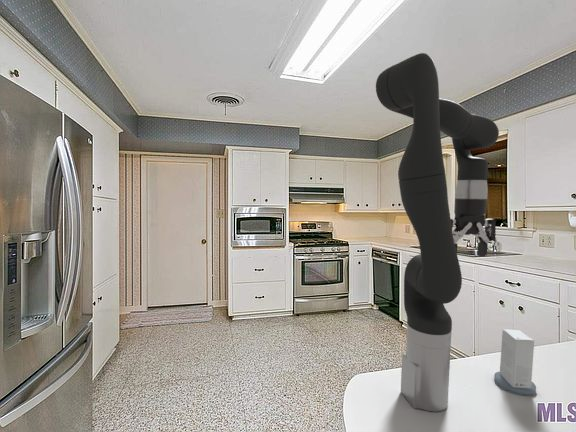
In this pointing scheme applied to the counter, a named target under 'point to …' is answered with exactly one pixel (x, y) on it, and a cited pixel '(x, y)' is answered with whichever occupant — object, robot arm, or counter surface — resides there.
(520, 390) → the slate dish
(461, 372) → the counter surface
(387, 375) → the counter surface
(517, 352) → the skincare box
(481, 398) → the counter surface
